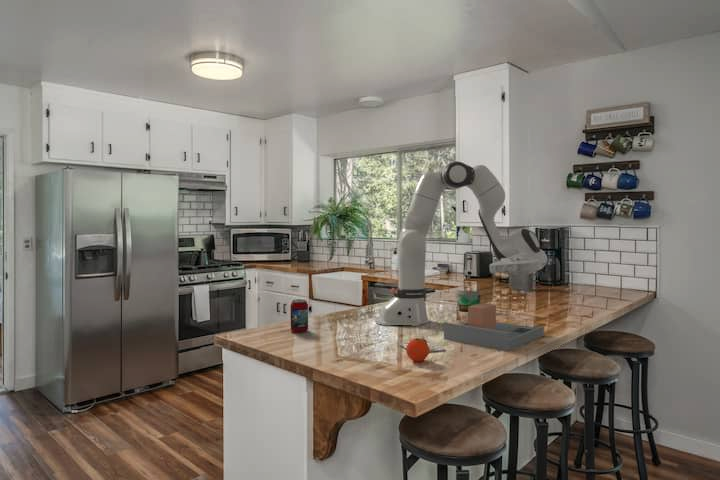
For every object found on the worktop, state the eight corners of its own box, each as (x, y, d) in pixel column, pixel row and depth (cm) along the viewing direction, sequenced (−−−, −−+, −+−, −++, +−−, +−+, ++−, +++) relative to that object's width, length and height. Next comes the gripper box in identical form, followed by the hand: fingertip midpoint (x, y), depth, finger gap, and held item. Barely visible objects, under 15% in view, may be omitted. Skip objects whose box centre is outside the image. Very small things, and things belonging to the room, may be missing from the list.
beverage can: (294, 334, 184) (293, 302, 184) (288, 330, 190) (287, 299, 190) (310, 332, 187) (310, 301, 187) (304, 328, 193) (304, 298, 193)
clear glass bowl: (412, 355, 157) (412, 341, 156) (398, 346, 168) (398, 332, 168) (445, 352, 160) (446, 338, 160) (430, 343, 171) (430, 330, 171)
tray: (483, 325, 197) (483, 311, 197) (543, 335, 181) (544, 319, 180) (443, 338, 176) (443, 322, 176) (507, 351, 159) (507, 333, 159)
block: (482, 329, 179) (482, 302, 179) (495, 332, 176) (496, 304, 175) (467, 334, 172) (468, 306, 172) (481, 337, 168) (482, 308, 168)
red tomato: (409, 356, 154) (409, 333, 154) (431, 358, 152) (431, 335, 152) (404, 363, 147) (404, 339, 146) (427, 365, 145) (427, 341, 144)
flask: (534, 291, 291) (535, 257, 290) (529, 292, 288) (530, 258, 287) (512, 288, 303) (513, 256, 302) (507, 289, 299) (507, 256, 298)
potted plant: (453, 311, 227) (453, 290, 227) (455, 309, 233) (455, 288, 233) (480, 313, 223) (480, 291, 222) (482, 311, 228) (482, 290, 228)
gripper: (549, 270, 188) (533, 276, 178) (500, 273, 202) (484, 279, 192) (547, 254, 187) (531, 259, 178) (498, 258, 202) (481, 263, 192)
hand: (506, 269), depth 185 cm, fingers closed
